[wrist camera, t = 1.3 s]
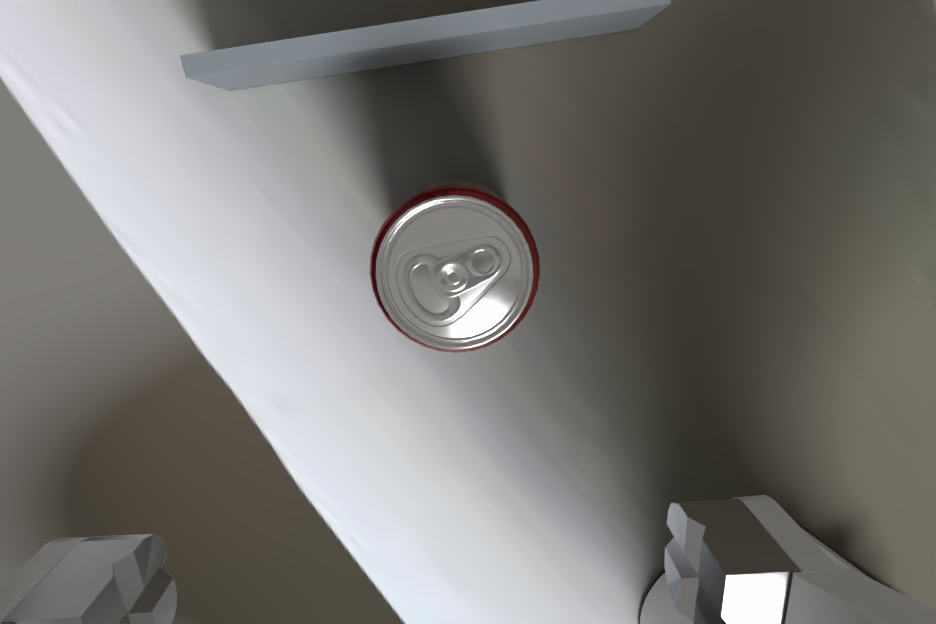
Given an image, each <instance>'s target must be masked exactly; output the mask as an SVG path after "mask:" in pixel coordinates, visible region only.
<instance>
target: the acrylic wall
mask: <svg viewBox="0 0 936 624" xmlns="http://www.w3.org/2000/svg"><path fill="white" fill-rule="evenodd" d="M670 4H671V0H538V1H532V2H525V3H519V4H512V5H506V6H499V7H493V8H486V9H480V10H473V11H466V12H460V13H453V14H447V15H440V16H434V17H427V18H421V19H414V20H408V21H401V22H395V23H388V24H382V25H375V26H369V27H362V28H356V29H349V30H343V31H336V32H330V33H323V34H317V35H310V36H304V37H297V38H291V39H284V40H278V41H271V42H265V43H258V44H252V45H245V46H239V47H232V48H226V49H219V50H213V51H206V52H199V53H193V54H186V55H180V57H181V61H182V64H183V68H184V72H185V75H186V78H189V79H192V80H196V81H199V82H202V83H205V84H209V85H212V86H215V87H218V88H222V89H225V90H228V91H232V90H238V89H245V88H252V87H258V86H265V85H271V84H278V83H285V82H291V81H298V80H304V79H311V78H317V77H324V76H331V75H337V74H344V73H350V72H357V71H364V70H370V69H377V68H383V67H390V66H397V65H403V64H410V63H416V62H423V61H430V60H436V59H443V58H449V57H456V56H463V55H469V54H476V53H482V52H489V51H495V50H502V49H509V48H515V47H522V46H528V45H535V44H542V43H548V42H555V41H561V40H568V39H575V38H581V37H588V36H594V35H601V34H608V33H614V32H621V31H627V30H634V29H637V28H639V27H640V26H642V25H643V24H644V23H646V22H647V21H648V20H650V19H651V18H652V17H654V16H655V15H656V14H658V13H659V12H660V11H662V10H663V9H664V8H666V7H667V6H668V5H670Z"/></svg>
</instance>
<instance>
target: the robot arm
mask: <svg viewBox="0 0 936 624" xmlns="http://www.w3.org/2000/svg"><path fill="white" fill-rule="evenodd" d="M667 525H668V527H669V529H670V531H671V532H672V534H673V536H674V537H673V539H672V540H671V541H670V542H669V543H668V545H667V546H666V547H665V562H664V566H665V573H664V574H663V575H662V576H661V577H660V578H659V579H658V580H657V581H656V583H655V584H654V585H653V587H652V588H651V590H650V592H649V593H648V595H647V597H646V599H645V602H644V604H643V607H642V611H641V616H640V624H936V610H934V609H932V608H930V607H927V606H925V605H923V604H921V603H919V602H917V601H915V600H913V599H911V598H909V597H907V596H905V595H903V594H901V593H899V592H897V591H895V590H893V589H891V588H889V587H887V586H885V585H883V584H881V583H879V582H877V581H875V580H873V579H871V578H869V577H868V576H866V575H865V574H864V573H862V572H861V571H860V570H858V569H857V568H856V567H854V566H853V565H851V564H850V563H849V562H847V561H846V560H845V559H843V558H842V557H841V556H839V555H838V554H836V553H835V552H834V551H832V550H831V549H830V548H828V547H827V546H826V545H824V544H823V543H821V542H820V541H819V540H817V539H816V538H815V537H813V536H812V535H811V534H809V533H808V532H806V531H805V530H804V529H802V528H801V527H800V526H799V525H798V524H797V523H796V522H795V521H794V520H793V519H792V518H791V517H790V516H789V515H788V514H787V513H786V512H785V511H784V510H783V509H782V507H781V506H780V505H779V504H778V503H777V502H776V501H775V500H774V499H772V498H771V497H768V496H766V495H756V496H745V497H734V498H733V499H719V500H704V501H689V502H674V503H671V505H670V507H669V510H668V516H667ZM166 557H167V553H166V550H165V547H164V543H163V540H162V538H161V537H158V536H156V535H154V534H147V535H122V536H121V535H120V536H94V537H90V538H89V537H79V538H60V539H57V540H55V541H52V542H49V543H47V544H46V545H45V546H44V547H43V548H42V549H40V550H39V551H38V552H37V553H36V554H35V555H34V556H33V557H32V558H31V559H30V560H29V561H28V562H27V563H26V564H25V565H23V566H22V568H20V569H19V570H18V571H17V572H16V573H15V574H14V575H13V576H12V577H11V578H10V579H9V580H8V581H6V583H4V584H3V585H2V586H1V587H0V624H172V621H173V617H174V614H175V610H176V588H175V583H174V579H173V578H172V577H171V576H170V575H169V574H168V573H166V572H165V571H164V570H163V569H162V568H161V565H162V564H163V562H164V560H165V558H166Z"/></svg>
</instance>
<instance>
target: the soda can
mask: <svg viewBox="0 0 936 624" xmlns="http://www.w3.org/2000/svg"><path fill="white" fill-rule="evenodd" d="M539 275H540V266H539V255H538V251H537V247H536V243H535V240H534V238H533V236H532V234H531V232H530V230H529V228H528V226H527V224H526V223H525V222H524V220H523V219H522V218H521V217H520V215H519V214H518V213H517V212H516V211H515V210H514V209H513V208H512V207H511V206H509V205H508V204H507V203H506V202H505V201H504V200H502V199H501V198H500V197H499V196H498V195H497V194H495V193H494V192H493V191H492V190H491V189H490V188H488V187H486V186H485V185H483V184H481V183H479V182H476V181H473V180H470V179H465V178H446V179H441V180H438V181H435V182H432V183H430V184H429V185H427V186H425V187H423V188H422V189H420V190H419V191H418V192H416V193H415V194H414V195H412V196H411V197H410V198H408V199H407V200H406V201H404V202H403V203H402V204H401V205H400V206H399V207H397V208H396V209H395V210H394V211H393V212H392V213H391V214H390V216H389V217H388V218H387V220H386V221H385V222H384V223H383V225H382V226H381V228H380V231H379V233H378V235H377V237H376V239H375V241H374V245H373V249H372V253H371V258H370V278H371V284H372V290H373V292H374V295H375V298H376V301H377V303H378V305H379V307H380V309H381V310H382V312H383V314H384V315H385V317H386V318H387V320H388V321H389V322H390V323H391V324H392V325H393V326H394V327H395V328H396V330H398V331H399V332H400V333H402V334H403V335H404V336H406V337H407V338H408V339H410V340H411V341H413V342H415V343H417V344H420V345H422V346H424V347H427V348H430V349H434V350H437V351H444V352H466V351H473V350H476V349H480V348H483V347H487V346H489V345H491V344H493V343H495V342H497V341H499V340H501V339H502V338H503V337H505V336H506V335H507V334H508V333H510V332H511V331H512V330H514V329H515V327H516V326H517V325H518V324H519V323H520V322H521V321H522V319H523V318H524V317H525V315H526V314H527V312H528V310H529V309H530V307H531V305H532V303H533V300H534V297H535V295H536V292H537V289H538V282H539Z"/></svg>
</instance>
